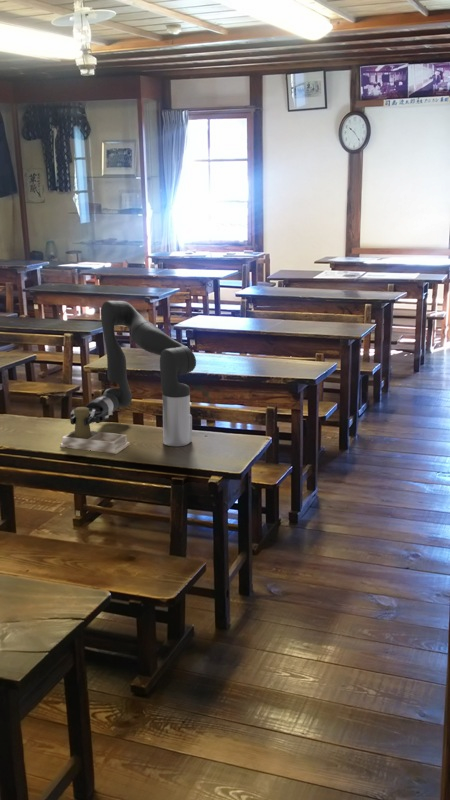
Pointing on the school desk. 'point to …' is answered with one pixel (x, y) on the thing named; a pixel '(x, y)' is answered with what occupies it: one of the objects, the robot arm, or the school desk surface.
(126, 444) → the white divided tray
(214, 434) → the school desk surface
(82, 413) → the cork
